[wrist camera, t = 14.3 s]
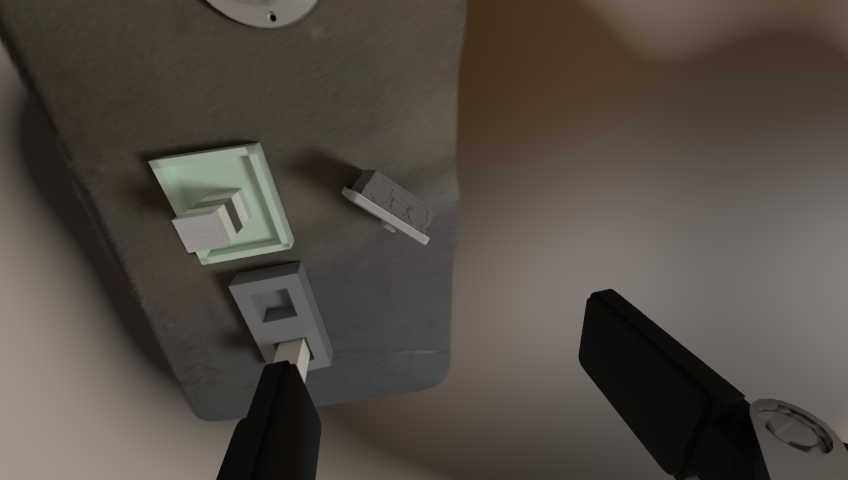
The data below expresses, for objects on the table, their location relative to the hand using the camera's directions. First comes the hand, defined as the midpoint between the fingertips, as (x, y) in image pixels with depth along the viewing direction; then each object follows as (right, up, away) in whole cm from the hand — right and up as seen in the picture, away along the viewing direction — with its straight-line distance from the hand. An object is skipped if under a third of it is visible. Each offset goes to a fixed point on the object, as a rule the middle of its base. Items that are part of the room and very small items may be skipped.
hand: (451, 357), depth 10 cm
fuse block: (-20, -7, +34) cm, 40 cm away
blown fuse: (-23, +8, +25) cm, 35 cm away
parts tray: (-23, +8, +26) cm, 35 cm away
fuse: (-19, -11, +35) cm, 41 cm away
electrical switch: (-6, +10, +29) cm, 31 cm away
